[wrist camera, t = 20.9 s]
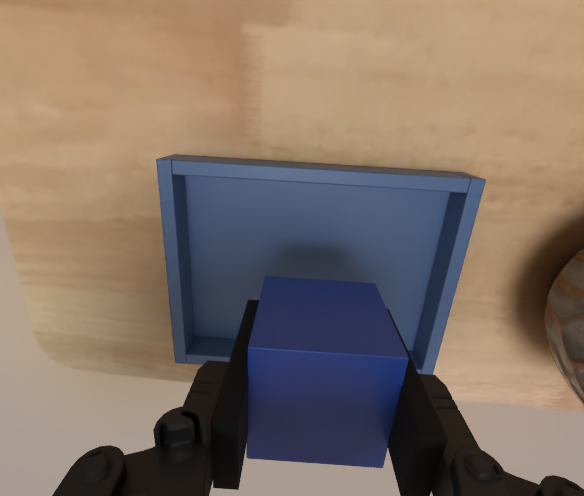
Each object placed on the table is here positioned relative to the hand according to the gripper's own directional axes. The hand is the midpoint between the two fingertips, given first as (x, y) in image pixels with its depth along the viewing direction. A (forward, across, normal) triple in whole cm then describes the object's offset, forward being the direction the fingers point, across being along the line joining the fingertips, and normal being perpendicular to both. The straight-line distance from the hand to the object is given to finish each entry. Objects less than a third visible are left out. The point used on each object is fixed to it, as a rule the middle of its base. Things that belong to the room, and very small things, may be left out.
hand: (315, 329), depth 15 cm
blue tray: (+7, 0, 0) cm, 7 cm away
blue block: (0, 0, 0) cm, 0 cm away
